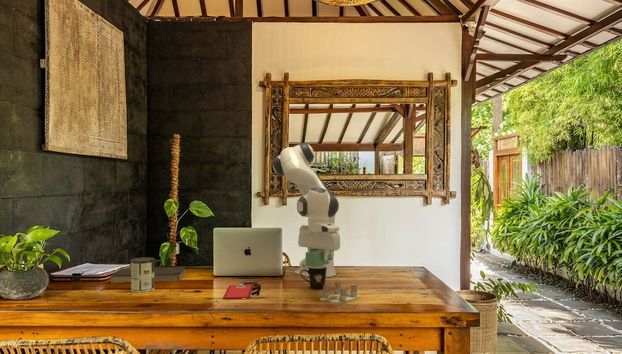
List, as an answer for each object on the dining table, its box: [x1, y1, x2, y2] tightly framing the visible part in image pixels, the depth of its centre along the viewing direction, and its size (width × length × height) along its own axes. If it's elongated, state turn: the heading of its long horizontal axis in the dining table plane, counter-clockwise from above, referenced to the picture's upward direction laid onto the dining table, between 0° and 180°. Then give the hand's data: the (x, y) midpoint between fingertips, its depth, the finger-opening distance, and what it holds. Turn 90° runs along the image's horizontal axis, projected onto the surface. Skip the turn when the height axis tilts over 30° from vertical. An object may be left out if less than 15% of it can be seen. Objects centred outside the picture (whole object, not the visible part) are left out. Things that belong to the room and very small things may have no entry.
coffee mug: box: [299, 265, 327, 291], centre depth 222 cm, size 12×9×10 cm
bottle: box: [305, 250, 333, 267], centre depth 202 cm, size 5×14×6 cm, turn 140°
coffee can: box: [130, 256, 155, 293], centre depth 218 cm, size 10×10×14 cm
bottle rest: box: [320, 280, 360, 305], centre depth 202 cm, size 10×14×6 cm
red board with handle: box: [222, 281, 262, 300], centre depth 217 cm, size 30×3×15 cm
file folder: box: [109, 266, 187, 284], centre depth 246 cm, size 33×4×24 cm
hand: (318, 259), depth 201 cm, fingers closed on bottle, 5 cm apart
